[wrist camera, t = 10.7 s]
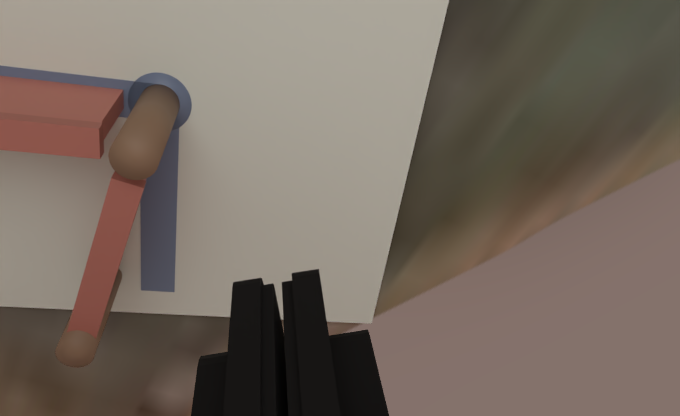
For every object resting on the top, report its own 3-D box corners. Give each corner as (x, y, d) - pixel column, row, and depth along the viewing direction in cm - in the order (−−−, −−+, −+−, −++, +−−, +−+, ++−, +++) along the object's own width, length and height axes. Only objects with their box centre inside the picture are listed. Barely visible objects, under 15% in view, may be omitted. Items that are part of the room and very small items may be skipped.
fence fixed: (-99, 93, 28) (-199, 151, 22) (-108, 52, 27) (-215, 101, 21) (179, 123, 30) (158, 182, 24) (180, 86, 29) (159, 138, 23)
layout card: (-85, 297, 34) (-89, 302, 34) (-200, -181, 23) (-208, -182, 22) (370, 319, 39) (371, 323, 39) (461, -63, 28) (464, -62, 27)
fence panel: (133, 126, 30) (102, 183, 24) (167, 138, 30) (145, 197, 24) (87, 282, 34) (51, 362, 28) (118, 290, 34) (89, 370, 29)
